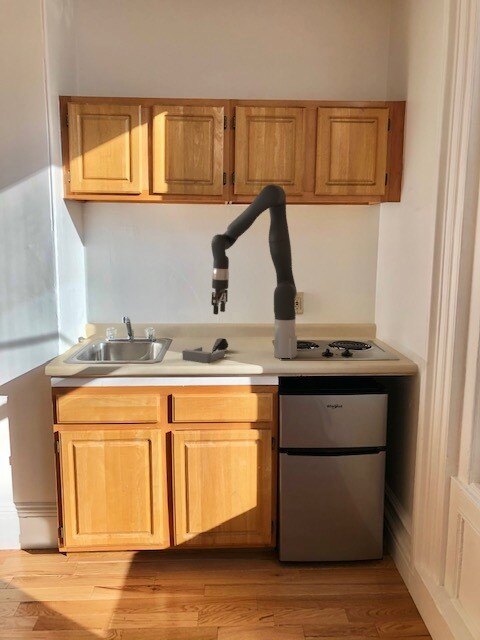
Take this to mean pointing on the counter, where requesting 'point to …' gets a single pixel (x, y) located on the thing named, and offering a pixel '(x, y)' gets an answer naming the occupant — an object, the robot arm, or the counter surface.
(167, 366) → the counter surface
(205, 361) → the socket bay
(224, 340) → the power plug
